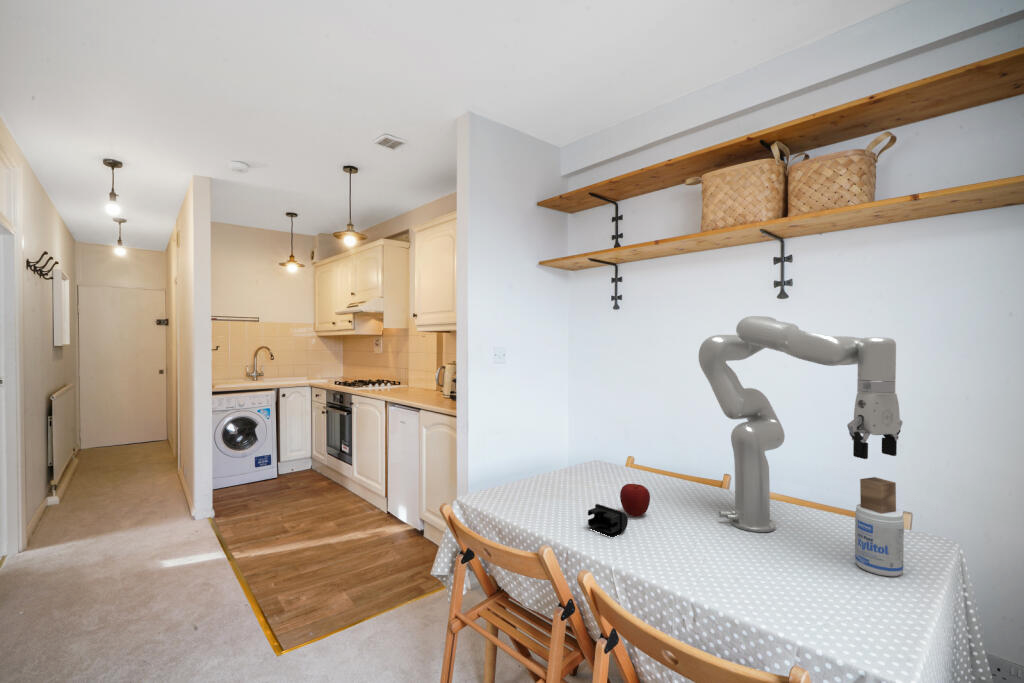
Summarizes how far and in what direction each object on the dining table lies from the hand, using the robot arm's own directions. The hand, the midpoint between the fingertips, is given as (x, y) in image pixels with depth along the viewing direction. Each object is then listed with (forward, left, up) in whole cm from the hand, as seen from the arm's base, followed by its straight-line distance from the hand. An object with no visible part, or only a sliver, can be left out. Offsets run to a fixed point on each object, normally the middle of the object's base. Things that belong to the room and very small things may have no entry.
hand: (874, 456), depth 119 cm
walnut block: (0, 0, -13) cm, 13 cm away
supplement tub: (0, -1, -28) cm, 28 cm away
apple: (-52, +36, -28) cm, 69 cm away
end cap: (-63, +23, -28) cm, 72 cm away
